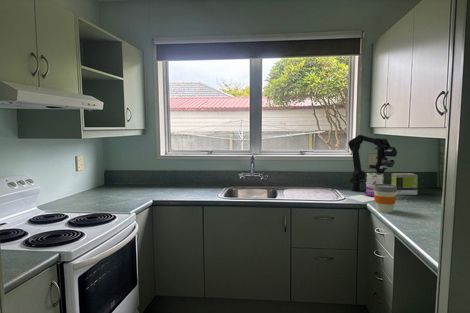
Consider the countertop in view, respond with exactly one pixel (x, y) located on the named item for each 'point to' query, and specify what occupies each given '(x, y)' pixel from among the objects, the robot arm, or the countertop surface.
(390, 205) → the reusable coffee cup
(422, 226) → the countertop surface
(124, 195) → the countertop surface
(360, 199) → the mat
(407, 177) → the tea box
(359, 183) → the robot arm
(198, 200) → the countertop surface
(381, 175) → the candy bar box
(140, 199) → the countertop surface
